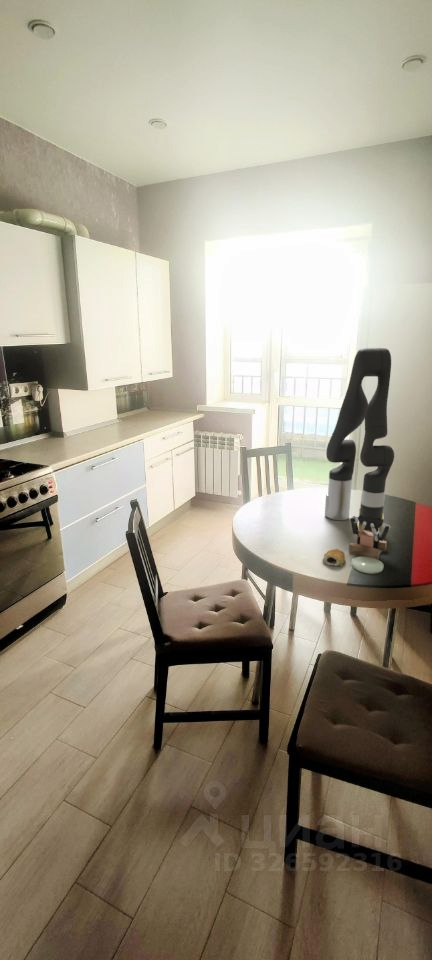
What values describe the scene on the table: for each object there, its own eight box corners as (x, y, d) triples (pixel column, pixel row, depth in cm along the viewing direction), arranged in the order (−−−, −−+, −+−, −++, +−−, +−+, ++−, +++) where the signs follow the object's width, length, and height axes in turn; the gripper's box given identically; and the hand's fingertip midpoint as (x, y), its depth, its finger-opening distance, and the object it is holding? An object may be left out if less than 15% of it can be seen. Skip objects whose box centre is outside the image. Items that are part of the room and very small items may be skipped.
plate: (347, 567, 145) (347, 565, 145) (357, 556, 153) (357, 553, 153) (377, 576, 140) (378, 574, 139) (387, 564, 147) (387, 561, 147)
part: (359, 550, 156) (360, 534, 154) (363, 545, 160) (364, 530, 158) (371, 553, 154) (373, 538, 152) (375, 549, 157) (377, 533, 155)
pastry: (329, 552, 156) (330, 543, 155) (348, 557, 153) (349, 547, 152) (321, 563, 149) (322, 553, 148) (341, 568, 145) (342, 558, 144)
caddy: (348, 552, 156) (349, 544, 155) (358, 542, 163) (359, 534, 162) (377, 560, 150) (378, 551, 149) (386, 549, 158) (387, 541, 157)
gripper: (348, 501, 153) (344, 546, 158) (390, 510, 144) (385, 557, 150) (355, 495, 158) (351, 539, 163) (396, 503, 150) (391, 549, 155)
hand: (367, 547), depth 156 cm, fingers closed on part, 4 cm apart
